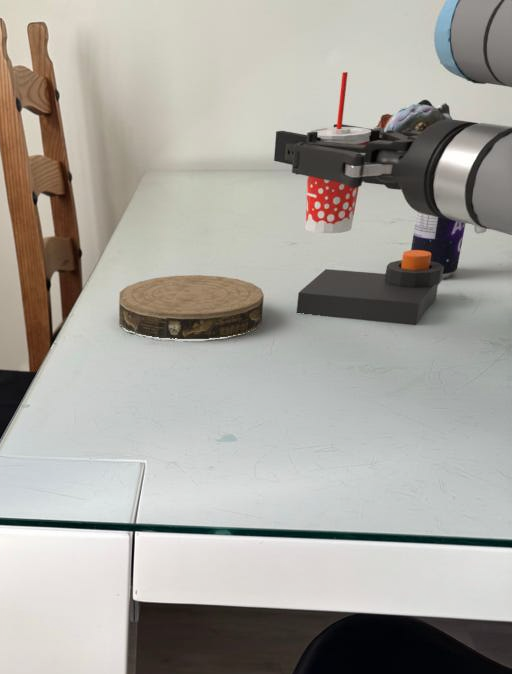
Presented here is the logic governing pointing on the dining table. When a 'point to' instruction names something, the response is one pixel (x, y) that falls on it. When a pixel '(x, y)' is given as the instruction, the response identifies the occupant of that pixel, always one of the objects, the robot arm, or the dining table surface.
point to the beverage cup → (329, 196)
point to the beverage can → (439, 240)
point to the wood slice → (191, 307)
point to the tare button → (416, 260)
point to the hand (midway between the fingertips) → (307, 142)
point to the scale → (372, 294)
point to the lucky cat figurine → (414, 117)
